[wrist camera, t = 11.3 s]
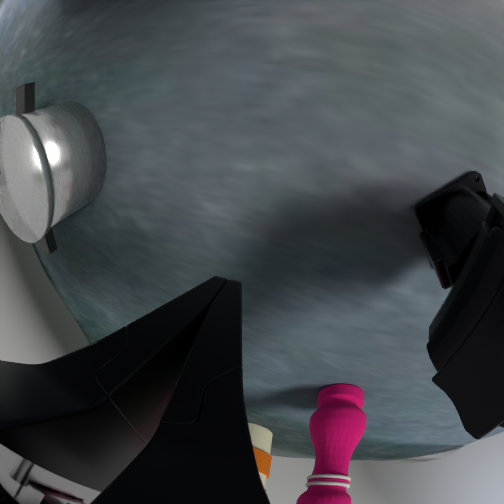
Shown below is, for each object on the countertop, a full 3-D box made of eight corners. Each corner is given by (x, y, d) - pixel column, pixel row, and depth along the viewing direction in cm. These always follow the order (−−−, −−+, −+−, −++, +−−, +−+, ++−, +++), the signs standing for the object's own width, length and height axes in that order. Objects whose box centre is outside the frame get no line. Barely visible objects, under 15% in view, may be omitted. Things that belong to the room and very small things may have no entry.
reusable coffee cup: (261, 416, 40) (235, 493, 28) (292, 441, 44) (274, 505, 32) (207, 415, 46) (179, 478, 34) (241, 440, 50) (221, 495, 38)
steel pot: (105, 67, 17) (44, 72, 12) (115, 235, 27) (72, 270, 21) (40, 88, 19) (-7, 99, 14) (54, 218, 29) (17, 244, 23)
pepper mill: (309, 402, 34) (277, 530, 17) (321, 377, 30) (287, 533, 14) (356, 408, 32) (337, 535, 16) (375, 384, 29) (360, 535, 12)
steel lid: (46, 102, 13) (31, 105, 12) (68, 248, 20) (57, 257, 19) (-22, 128, 16) (-31, 132, 14) (-5, 221, 22) (-13, 227, 21)
